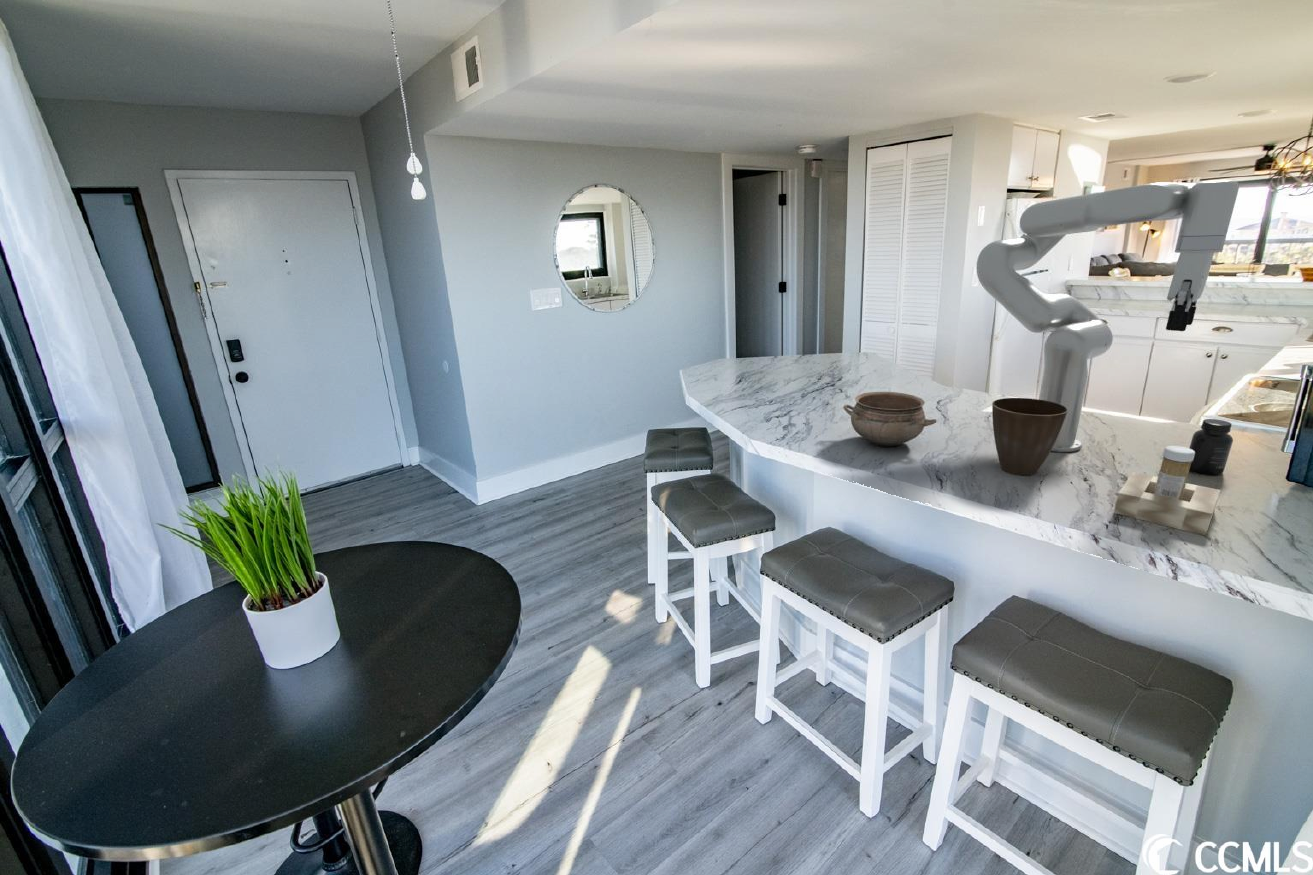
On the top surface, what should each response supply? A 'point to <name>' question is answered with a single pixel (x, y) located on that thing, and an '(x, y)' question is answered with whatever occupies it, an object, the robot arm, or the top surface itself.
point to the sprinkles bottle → (1174, 471)
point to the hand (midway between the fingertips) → (1178, 327)
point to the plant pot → (1025, 432)
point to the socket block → (1167, 504)
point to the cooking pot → (888, 417)
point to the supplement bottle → (1211, 447)
